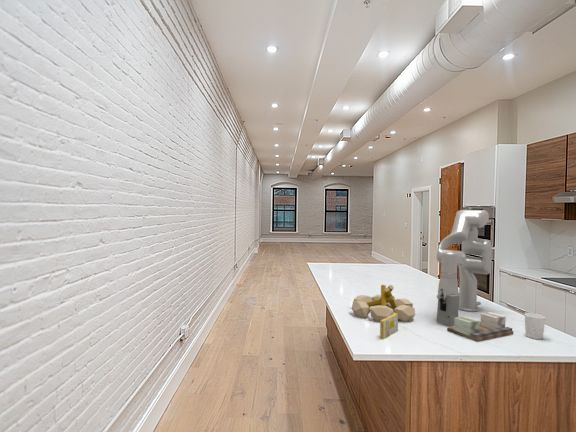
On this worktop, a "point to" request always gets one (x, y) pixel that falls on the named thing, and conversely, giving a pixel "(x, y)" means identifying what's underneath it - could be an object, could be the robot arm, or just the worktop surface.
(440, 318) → the skincare box
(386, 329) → the candy box
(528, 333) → the white cup
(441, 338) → the worktop surface
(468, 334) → the board
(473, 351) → the worktop surface
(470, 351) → the worktop surface
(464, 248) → the robot arm
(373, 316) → the campfire
